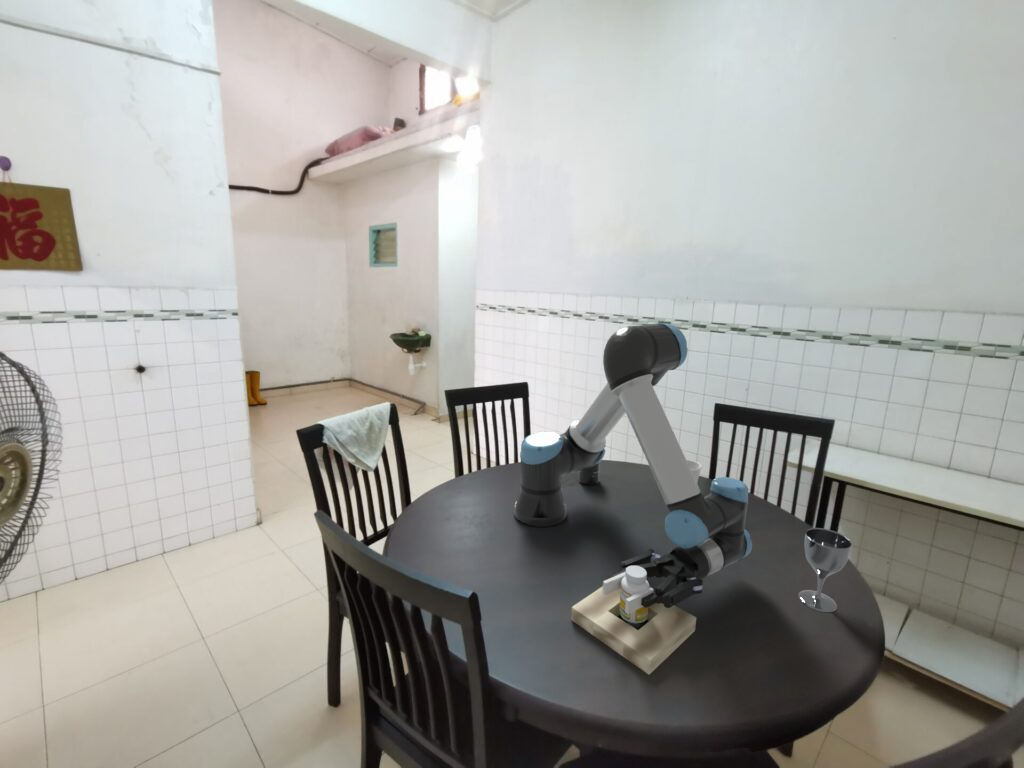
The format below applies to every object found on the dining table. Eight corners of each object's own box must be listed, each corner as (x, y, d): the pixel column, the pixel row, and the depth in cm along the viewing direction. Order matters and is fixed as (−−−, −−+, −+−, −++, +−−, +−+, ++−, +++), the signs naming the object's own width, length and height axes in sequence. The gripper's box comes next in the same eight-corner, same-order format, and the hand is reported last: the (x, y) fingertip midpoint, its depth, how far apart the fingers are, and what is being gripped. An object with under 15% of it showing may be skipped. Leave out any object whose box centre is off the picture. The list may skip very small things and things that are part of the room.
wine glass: (840, 619, 97) (852, 553, 93) (795, 604, 101) (805, 541, 97) (839, 597, 103) (850, 534, 100) (796, 584, 107) (806, 524, 104)
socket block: (571, 619, 96) (571, 607, 95) (619, 586, 107) (619, 574, 106) (649, 674, 83) (650, 660, 82) (694, 630, 93) (696, 617, 93)
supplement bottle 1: (598, 486, 156) (600, 452, 154) (577, 484, 158) (579, 450, 155) (599, 478, 163) (600, 444, 160) (579, 476, 164) (580, 443, 161)
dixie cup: (702, 499, 148) (706, 469, 145) (675, 499, 148) (678, 469, 145) (693, 487, 156) (696, 459, 153) (667, 487, 156) (670, 458, 153)
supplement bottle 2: (648, 609, 96) (651, 566, 94) (646, 627, 91) (649, 582, 89) (620, 603, 98) (623, 560, 95) (617, 620, 93) (620, 576, 90)
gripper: (732, 599, 95) (651, 645, 83) (660, 554, 110) (582, 588, 99) (736, 566, 94) (653, 608, 82) (662, 525, 109) (584, 555, 97)
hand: (615, 597), depth 90 cm, fingers closed on supplement bottle 2, 5 cm apart
